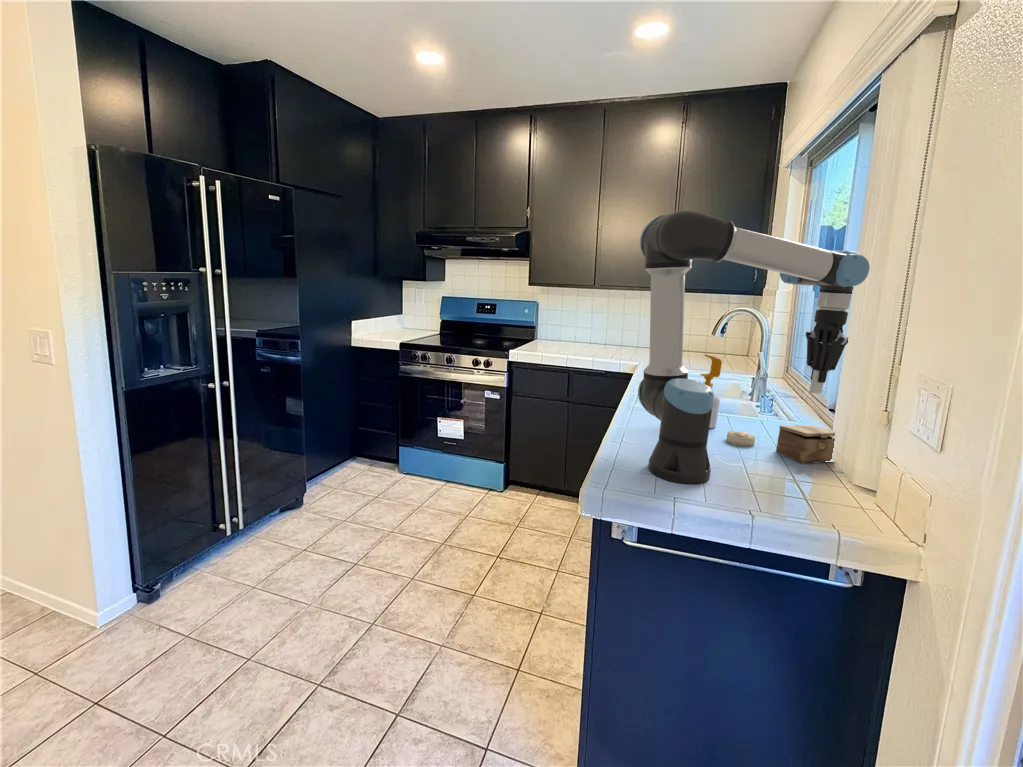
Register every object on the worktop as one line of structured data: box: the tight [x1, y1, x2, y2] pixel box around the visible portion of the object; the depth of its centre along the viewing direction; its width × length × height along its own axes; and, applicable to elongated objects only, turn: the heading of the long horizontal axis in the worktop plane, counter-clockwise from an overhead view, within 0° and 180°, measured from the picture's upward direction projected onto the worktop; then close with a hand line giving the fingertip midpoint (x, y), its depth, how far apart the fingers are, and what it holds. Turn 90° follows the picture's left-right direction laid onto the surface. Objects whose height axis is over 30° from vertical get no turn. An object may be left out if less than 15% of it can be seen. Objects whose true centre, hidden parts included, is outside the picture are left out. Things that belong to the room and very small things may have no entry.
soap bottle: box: [700, 354, 723, 429], centre depth 170 cm, size 9×9×25 cm
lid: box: [779, 425, 836, 438], centre depth 144 cm, size 11×10×1 cm
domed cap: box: [726, 430, 756, 448], centre depth 156 cm, size 8×8×3 cm
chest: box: [775, 429, 835, 464], centre depth 145 cm, size 11×10×7 cm
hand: (815, 392), depth 142 cm, fingers closed
